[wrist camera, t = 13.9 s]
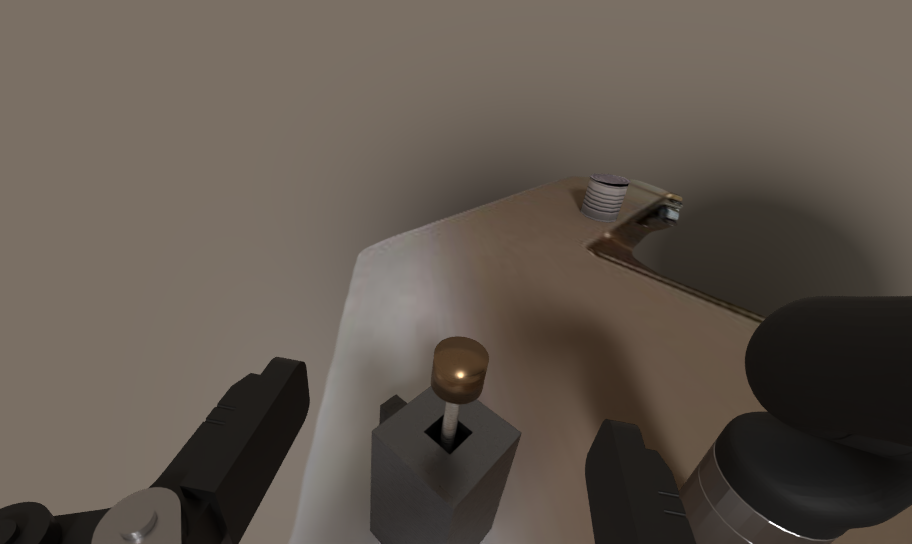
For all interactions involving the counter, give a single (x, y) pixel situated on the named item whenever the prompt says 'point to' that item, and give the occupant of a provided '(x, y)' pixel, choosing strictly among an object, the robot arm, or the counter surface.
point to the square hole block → (437, 472)
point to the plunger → (457, 380)
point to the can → (604, 197)
